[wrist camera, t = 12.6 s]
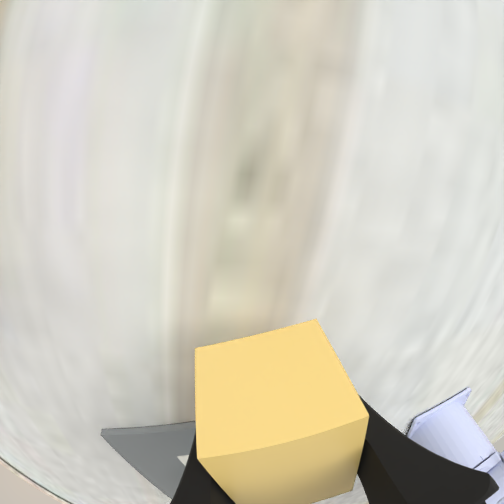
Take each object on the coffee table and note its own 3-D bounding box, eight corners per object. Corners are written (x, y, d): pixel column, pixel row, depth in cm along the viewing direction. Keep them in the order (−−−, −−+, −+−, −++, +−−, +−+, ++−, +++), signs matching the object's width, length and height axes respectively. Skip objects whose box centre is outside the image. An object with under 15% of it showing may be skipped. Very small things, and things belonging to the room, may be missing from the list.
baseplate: (319, 475, 25) (321, 480, 24) (177, 499, 24) (178, 504, 23) (315, 394, 19) (318, 401, 18) (102, 429, 18) (100, 436, 17)
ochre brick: (322, 416, 13) (352, 490, 9) (235, 437, 13) (248, 516, 9) (316, 318, 10) (369, 415, 6) (194, 348, 10) (197, 458, 6)
